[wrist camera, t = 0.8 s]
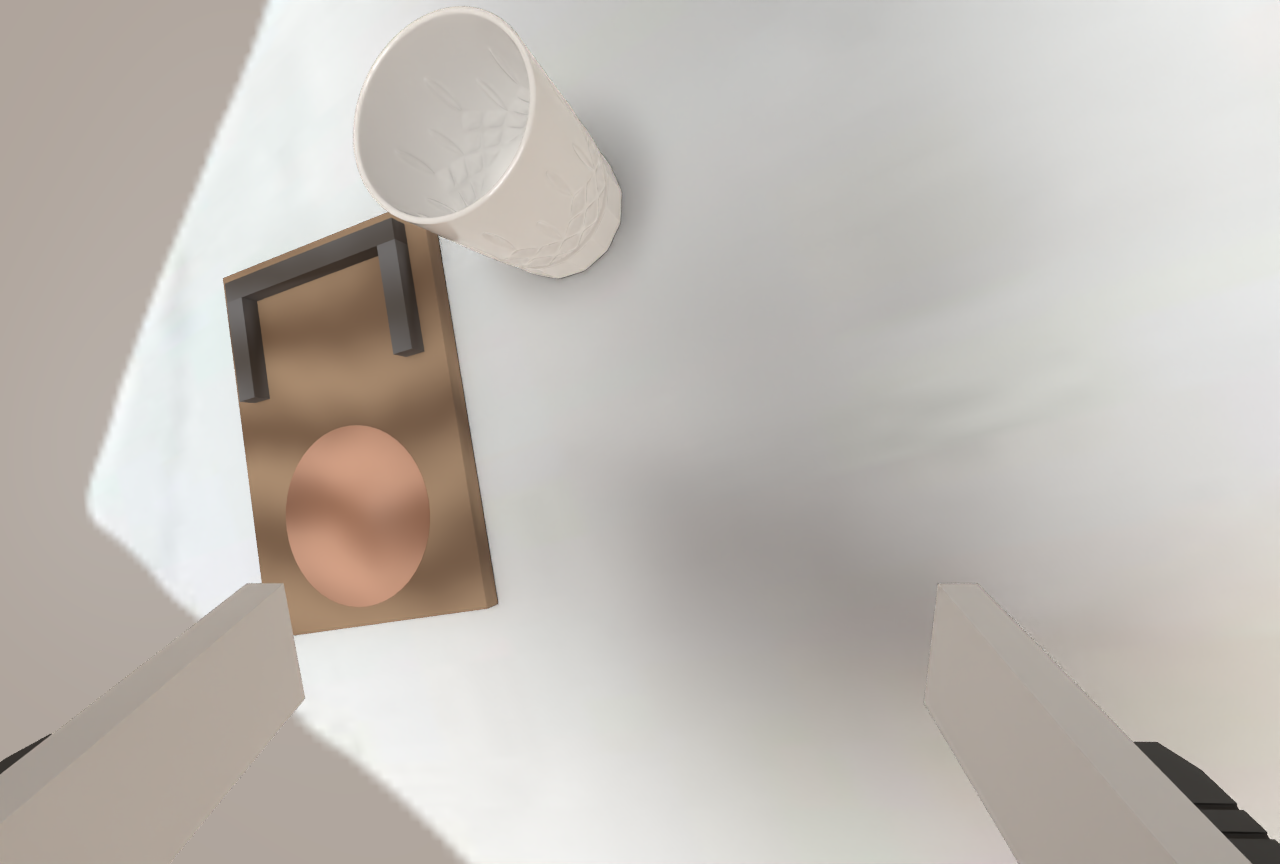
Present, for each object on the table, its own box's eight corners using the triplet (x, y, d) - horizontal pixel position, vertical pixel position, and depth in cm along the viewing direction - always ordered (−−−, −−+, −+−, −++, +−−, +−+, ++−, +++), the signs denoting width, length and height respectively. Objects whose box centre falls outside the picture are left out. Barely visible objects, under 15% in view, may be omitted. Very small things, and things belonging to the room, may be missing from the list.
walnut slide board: (238, 282, 39) (206, 273, 38) (432, 205, 35) (408, 191, 33) (283, 634, 37) (253, 643, 35) (498, 604, 33) (475, 613, 31)
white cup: (508, 307, 33) (367, 250, 23) (485, 167, 34) (339, 56, 24) (647, 265, 30) (552, 182, 21) (619, 114, 31) (515, -32, 22)
